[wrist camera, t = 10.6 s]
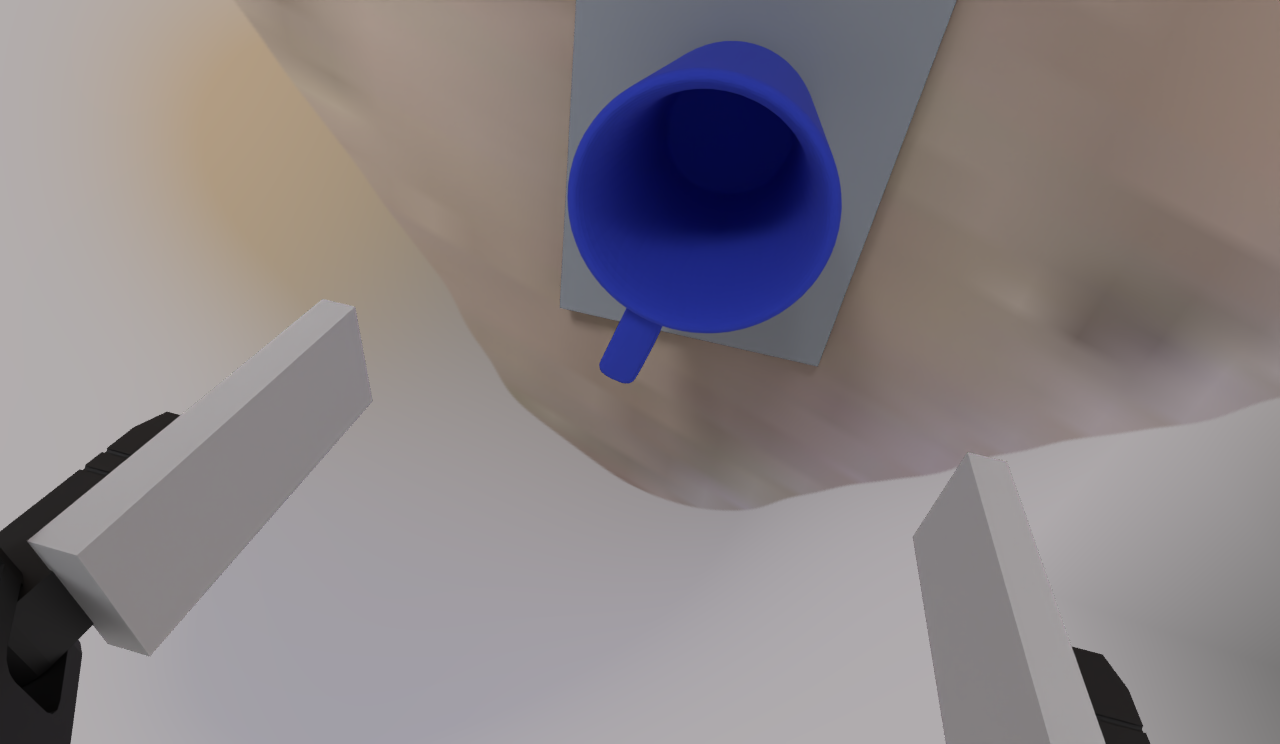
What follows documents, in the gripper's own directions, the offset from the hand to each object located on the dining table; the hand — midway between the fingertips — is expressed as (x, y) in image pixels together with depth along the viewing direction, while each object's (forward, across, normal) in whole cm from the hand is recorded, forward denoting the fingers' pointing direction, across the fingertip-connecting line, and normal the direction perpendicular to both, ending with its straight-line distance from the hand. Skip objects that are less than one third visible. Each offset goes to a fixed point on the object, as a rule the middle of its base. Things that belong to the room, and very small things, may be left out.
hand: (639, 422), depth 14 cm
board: (+19, 0, 0) cm, 19 cm away
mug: (+18, -1, 0) cm, 18 cm away
